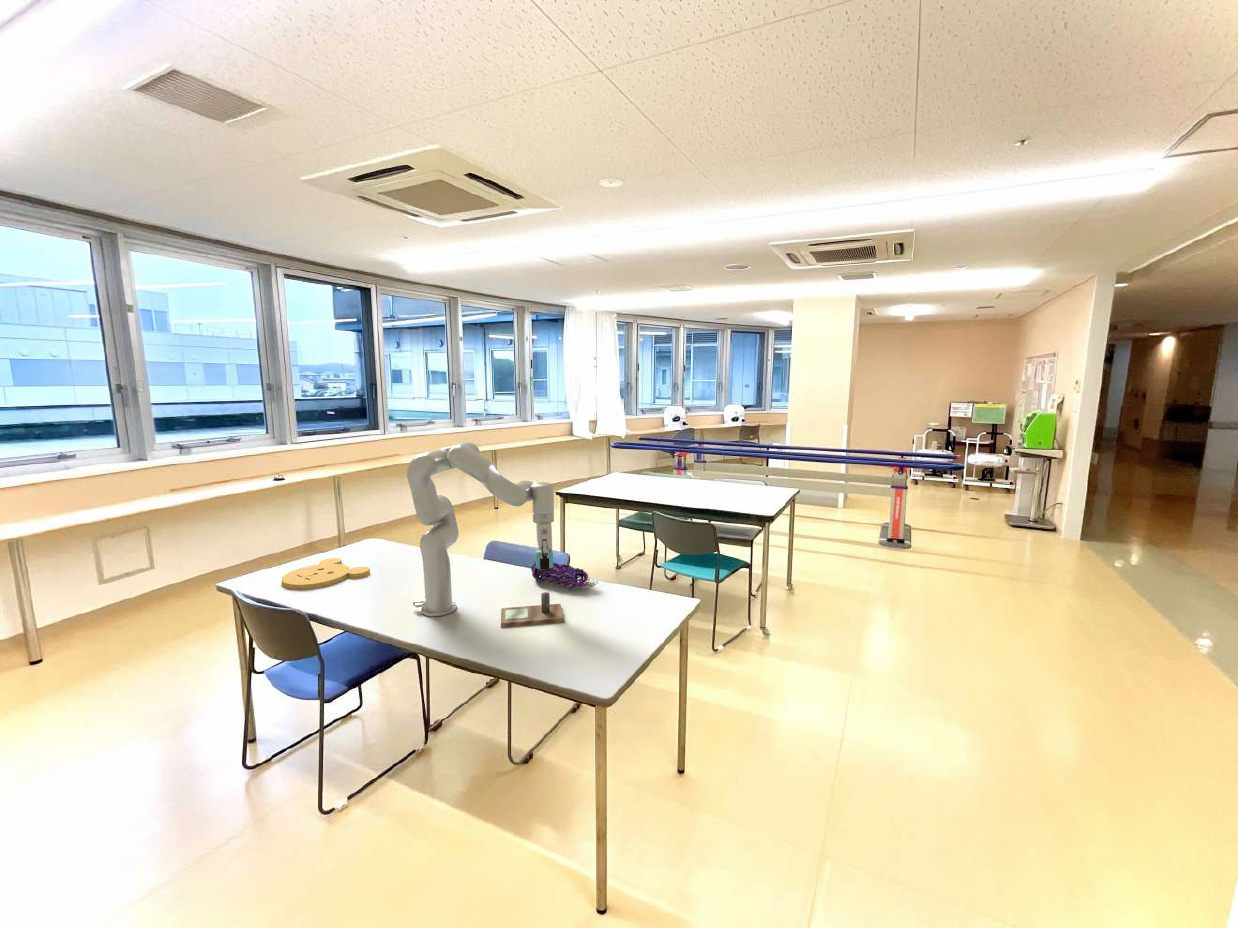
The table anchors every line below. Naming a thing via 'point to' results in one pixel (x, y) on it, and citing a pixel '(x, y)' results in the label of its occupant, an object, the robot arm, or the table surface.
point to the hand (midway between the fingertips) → (544, 565)
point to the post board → (532, 613)
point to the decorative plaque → (322, 575)
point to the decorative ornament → (562, 575)
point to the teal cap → (538, 556)
